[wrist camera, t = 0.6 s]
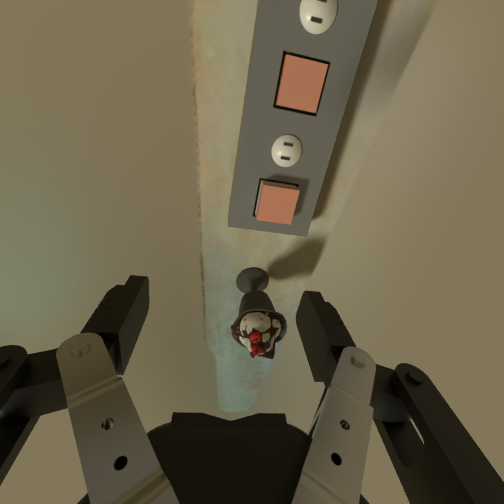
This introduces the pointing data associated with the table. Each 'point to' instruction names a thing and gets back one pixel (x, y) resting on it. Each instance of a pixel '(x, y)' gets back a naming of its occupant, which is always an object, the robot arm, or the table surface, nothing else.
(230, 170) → the table surface
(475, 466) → the robot arm
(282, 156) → the power strip
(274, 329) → the sundae
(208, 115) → the table surface
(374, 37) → the table surface
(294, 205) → the switch
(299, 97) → the switch
